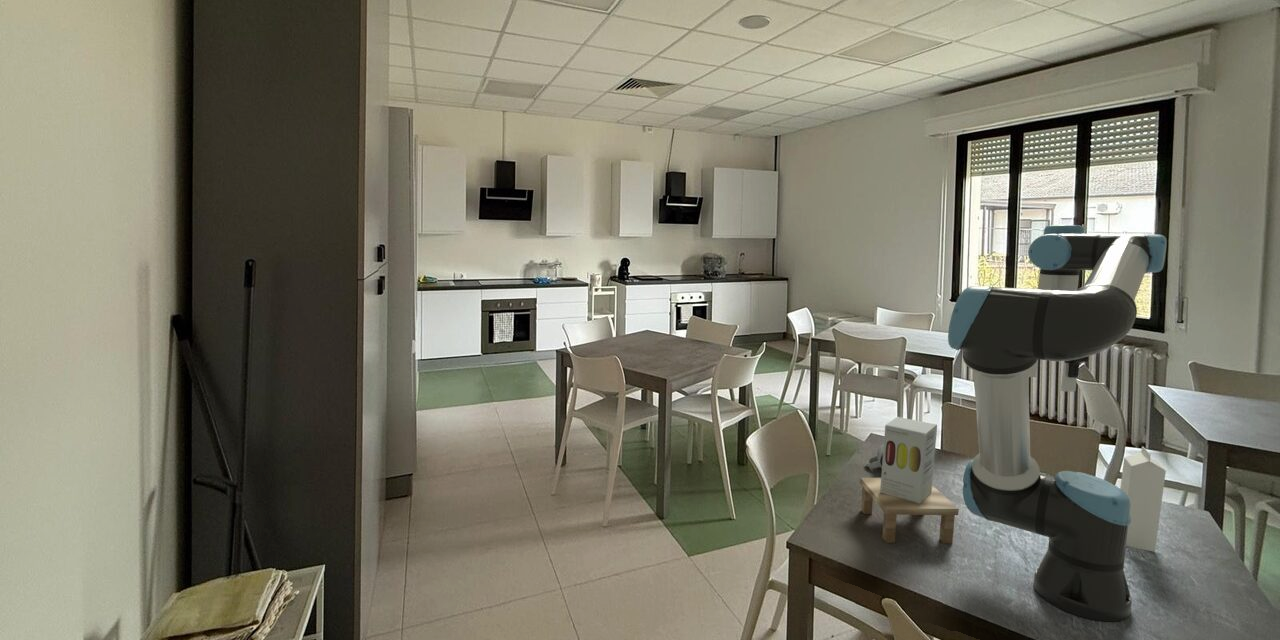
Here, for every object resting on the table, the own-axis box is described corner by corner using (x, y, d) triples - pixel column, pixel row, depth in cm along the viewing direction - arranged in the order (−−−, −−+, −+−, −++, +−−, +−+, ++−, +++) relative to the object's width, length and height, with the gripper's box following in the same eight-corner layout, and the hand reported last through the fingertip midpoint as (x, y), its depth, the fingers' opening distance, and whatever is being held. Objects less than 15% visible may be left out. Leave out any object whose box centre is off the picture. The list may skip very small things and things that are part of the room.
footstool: (955, 544, 135) (958, 508, 134) (884, 543, 135) (886, 508, 134) (921, 510, 152) (924, 478, 151) (858, 509, 152) (860, 477, 151)
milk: (1121, 546, 135) (1132, 452, 132) (1114, 534, 140) (1124, 443, 137) (1155, 552, 132) (1168, 456, 129) (1147, 539, 137) (1158, 447, 134)
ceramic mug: (901, 465, 182) (902, 440, 181) (906, 475, 174) (907, 450, 173) (864, 462, 184) (865, 438, 183) (867, 472, 176) (868, 447, 175)
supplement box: (878, 493, 142) (883, 424, 140) (891, 480, 149) (895, 415, 147) (921, 504, 136) (927, 433, 133) (933, 491, 143) (938, 423, 140)
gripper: (1115, 299, 125) (1104, 398, 128) (1038, 288, 149) (1030, 371, 153) (1079, 299, 125) (1068, 397, 128) (1008, 288, 150) (1000, 371, 153)
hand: (1047, 383), depth 140 cm, fingers open, 13 cm apart
